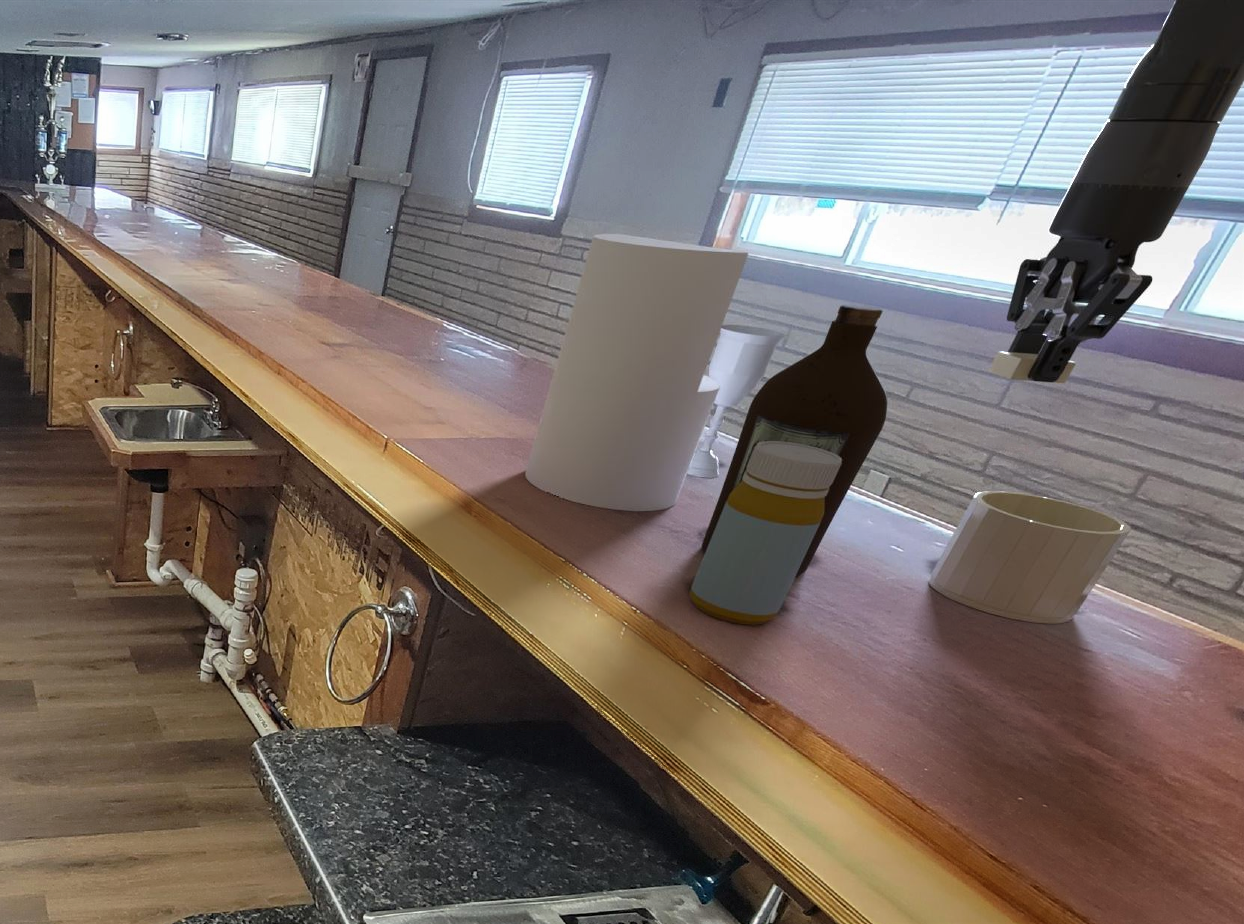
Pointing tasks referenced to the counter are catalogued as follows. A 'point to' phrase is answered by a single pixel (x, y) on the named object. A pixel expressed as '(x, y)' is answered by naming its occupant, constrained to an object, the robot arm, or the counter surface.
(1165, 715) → the counter surface
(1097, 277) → the robot arm
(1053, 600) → the cream round pot
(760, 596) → the bottle
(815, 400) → the olive oil
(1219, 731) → the counter surface
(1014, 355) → the cream block
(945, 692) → the counter surface
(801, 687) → the counter surface
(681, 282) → the cylinder
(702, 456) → the chalice
